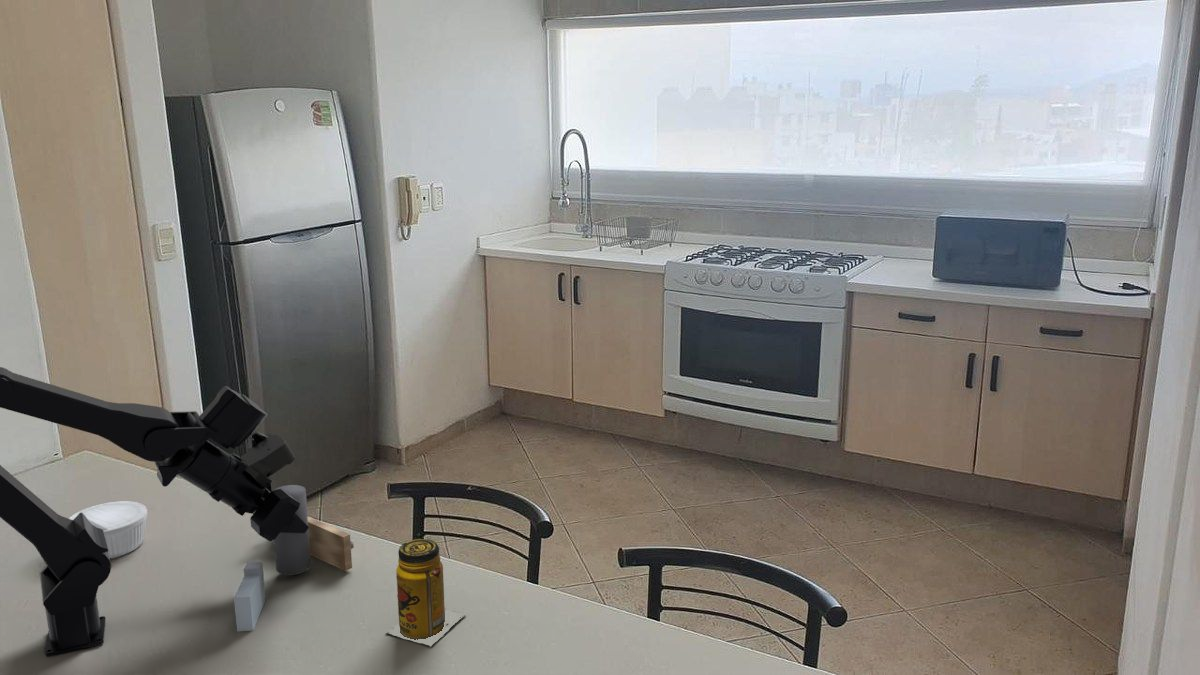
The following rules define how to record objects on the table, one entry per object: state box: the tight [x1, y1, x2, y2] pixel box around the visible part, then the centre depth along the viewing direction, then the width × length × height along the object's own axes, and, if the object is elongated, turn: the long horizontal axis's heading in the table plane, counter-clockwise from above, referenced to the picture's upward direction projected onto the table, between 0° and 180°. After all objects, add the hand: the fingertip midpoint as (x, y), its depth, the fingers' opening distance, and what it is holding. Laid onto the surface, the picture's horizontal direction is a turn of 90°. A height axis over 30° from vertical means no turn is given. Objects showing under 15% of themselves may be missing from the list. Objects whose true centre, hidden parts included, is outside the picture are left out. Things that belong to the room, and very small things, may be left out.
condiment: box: [395, 538, 467, 640], centre depth 118 cm, size 7×8×12 cm
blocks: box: [233, 560, 266, 632], centre depth 130 cm, size 28×2×6 cm, turn 8°
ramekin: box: [68, 500, 148, 559], centre depth 139 cm, size 11×11×5 cm
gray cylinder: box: [273, 484, 312, 576], centre depth 130 cm, size 5×5×12 cm
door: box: [307, 515, 355, 572], centre depth 136 cm, size 14×2×6 cm, turn 55°
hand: (299, 523), depth 131 cm, fingers closed on gray cylinder, 5 cm apart
